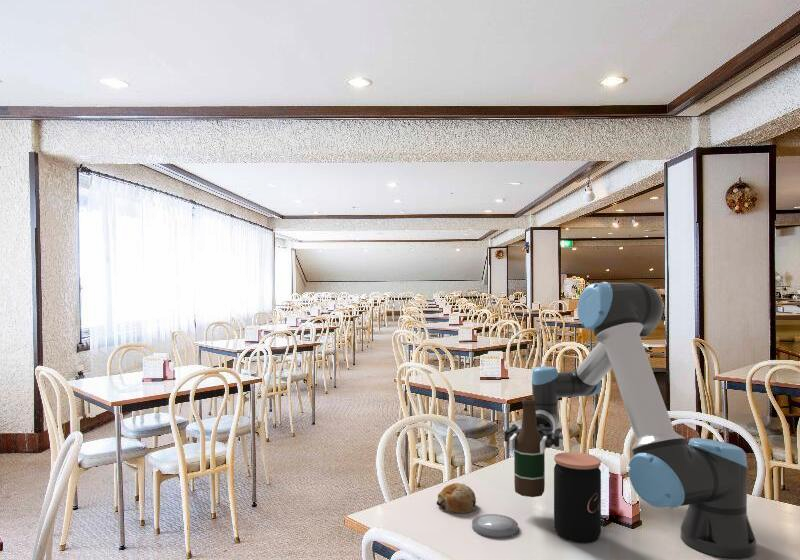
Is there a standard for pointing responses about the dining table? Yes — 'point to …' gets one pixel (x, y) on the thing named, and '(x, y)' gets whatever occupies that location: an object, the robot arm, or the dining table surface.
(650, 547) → the dining table surface
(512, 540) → the dining table surface
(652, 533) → the dining table surface
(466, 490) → the bread roll
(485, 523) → the dish
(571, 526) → the coffee jar
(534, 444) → the beer bottle
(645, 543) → the dining table surface
